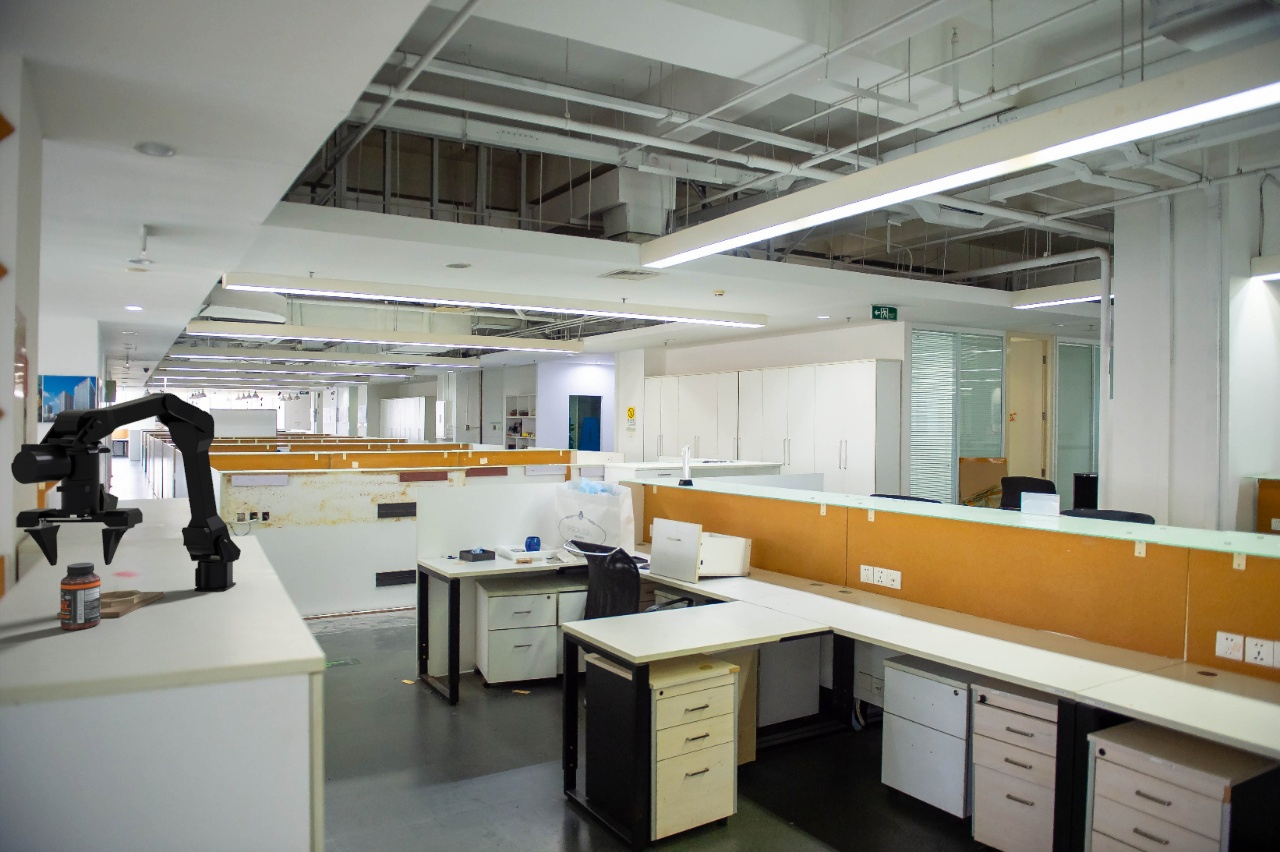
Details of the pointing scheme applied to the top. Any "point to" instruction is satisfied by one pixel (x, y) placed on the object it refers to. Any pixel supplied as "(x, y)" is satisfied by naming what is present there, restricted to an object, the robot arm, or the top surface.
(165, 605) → the top surface
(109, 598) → the wooden board with rim
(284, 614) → the top surface
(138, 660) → the top surface
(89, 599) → the supplement bottle
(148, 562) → the top surface
